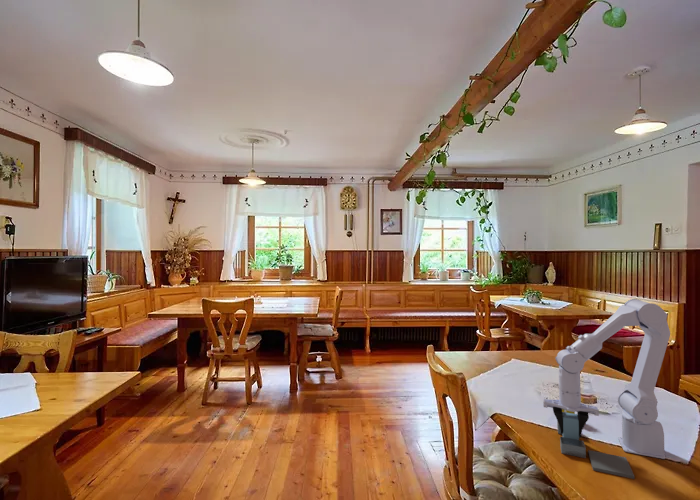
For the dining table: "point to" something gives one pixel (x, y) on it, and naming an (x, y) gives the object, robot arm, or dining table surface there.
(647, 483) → the dining table surface
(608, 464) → the pad
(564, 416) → the peg
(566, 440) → the vise
